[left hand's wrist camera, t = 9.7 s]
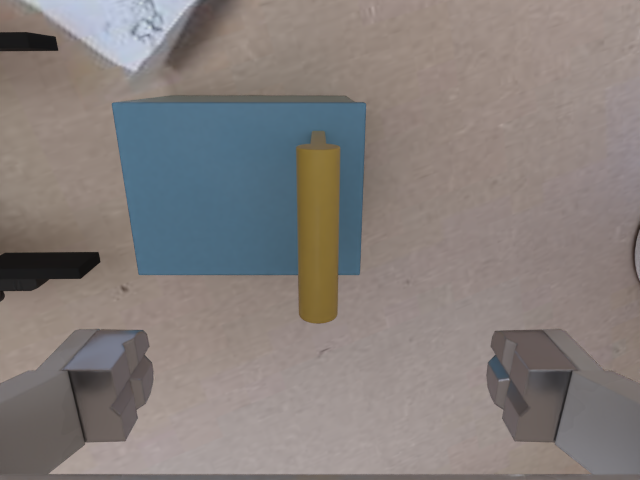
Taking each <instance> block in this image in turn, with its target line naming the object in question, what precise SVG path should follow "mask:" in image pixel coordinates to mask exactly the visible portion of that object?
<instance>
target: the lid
mask: <svg viewBox="0 0 640 480" xmlns="http://www.w3.org/2000/svg"><path fill="white" fill-rule="evenodd" d="M112 108H113V115H114V121H115V127H116V134H117V140H118V146H119V153H120V159H121V165H122V172H123V178H124V184H125V191H126V197H127V203H128V210H129V216H130V222H131V229H132V235H133V241H134V248H135V254H136V260H137V267H138V273H139V275H298V289H299V316H300V317H301V318H302V319H303V320H305V321H307V322H310V323H326V322H330V321H332V320H334V319H335V318H336V316H337V312H338V275H360V258H361V231H362V203H363V176H364V148H365V121H366V103H364V102H115V103H112Z"/></svg>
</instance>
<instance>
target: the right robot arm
mask: <svg viewBox="0 0 640 480" xmlns="http://www.w3.org/2000/svg"><path fill="white" fill-rule="evenodd" d="M0 51H58V47H57V42H56V37H54V36H47V35H41V34H35V33H28V32H0ZM99 263H100V257H99V252H50V253H4V254H2V255H0V302H1V301H2V300H3V299H4V297H5V294H4V292H3V291H32V290H34V289H37V288H38V287H40V286H41V285H42V284H44V283H45V282H46V281H48V280H49V279H81V278H82V277H83V276H84V275H86V274H87V273H88V272H89V271H90V270H92V269H93V268H94V267H95V266H96V265H98V264H99Z"/></svg>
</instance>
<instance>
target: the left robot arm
mask: <svg viewBox="0 0 640 480" xmlns="http://www.w3.org/2000/svg"><path fill="white" fill-rule="evenodd" d="M635 266H636V271H637V275H638V278H639V280H640V230H639V233H638V236H637V241H636V247H635ZM148 348H149V342H148V337H147V334H146V333H145V332H144V331H143V330H111V329H101V330H100V329H80V330H75V331H74V332H73V333H72V334H71V335H70V336H69V337H68V338H67V339H66V340H65V341H64V342H63V343H62V344H61V345H60V346H59V347H58V348H57V349H56V350H55V351H54V352H53V353H52V354H51V355H50V356H49V357H48V358H47V359H46V360H45V362H44V363H43V364H42V365H41V366H40V367H39V368H38V369H37V370H36V371H27V372H24V373H22V374H20V375H18V376H16V377H13V378H11V379H9V380H7V381H5V382H2V383H0V480H640V383H638V382H635V381H633V380H631V379H629V378H627V377H624V376H622V375H620V374H618V373H616V372H613V371H604V370H603V369H602V368H601V367H600V366H599V365H598V363H597V362H596V361H595V360H594V359H593V358H592V357H591V356H590V355H589V354H588V353H587V352H586V351H585V350H584V349H583V348H582V347H581V346H580V345H579V344H578V343H577V342H576V341H575V340H574V339H573V338H572V337H571V336H570V335H569V334H568V333H567V332H566V331H564V330H562V329H543V330H508V331H495V332H494V334H493V336H492V341H491V348H492V349H493V351H494V353H495V354H496V355H495V356H494V357H493V358H492V359H491V360H490V361H489V362H488V367H487V386H488V390H489V393H490V396H491V398H492V400H493V402H494V404H496V405H497V406H499V407H500V408H502V409H503V416H502V419H503V421H504V423H505V424H506V426H507V428H508V430H509V432H510V434H511V435H512V437H513V439H514V441H524V442H555V445H556V446H558V447H559V448H560V449H561V450H563V451H564V452H565V453H566V454H568V455H569V456H570V457H571V458H573V459H574V460H575V461H577V462H578V463H579V464H580V465H582V466H583V467H584V468H585V469H587V470H588V471H589V472H590V473H592V474H49V473H50V472H51V471H52V470H54V469H55V468H56V467H57V466H59V465H60V464H61V463H62V462H64V461H65V460H66V459H67V458H69V457H70V456H71V455H72V454H74V453H75V452H76V451H77V450H79V449H80V448H81V447H82V446H84V445H85V442H115V441H126V439H127V437H128V435H129V434H130V432H131V430H132V428H133V426H134V424H135V423H136V421H137V419H138V416H137V409H138V408H140V407H141V406H143V405H144V404H146V402H147V400H148V398H149V396H150V393H151V389H152V385H153V366H152V362H151V361H150V360H149V359H148V358H147V357H146V356H145V355H144V354H145V353H146V351H147V349H148Z"/></svg>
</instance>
